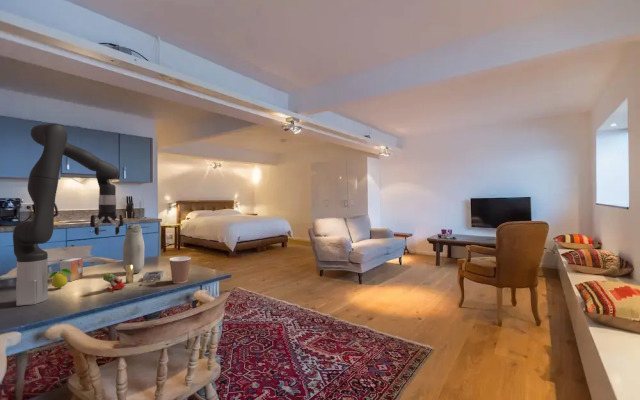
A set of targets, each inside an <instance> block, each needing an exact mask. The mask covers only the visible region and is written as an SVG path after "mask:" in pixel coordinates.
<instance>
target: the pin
mask: <svg viewBox="0 0 640 400" xmlns="http://www.w3.org/2000/svg"><path fill="white" fill-rule="evenodd" d="M133 283H134V273H133V264H129V265H126V271H125V284H126V285H127V284H128V285H129V284H133Z"/></svg>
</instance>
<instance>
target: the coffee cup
mask: <svg viewBox="0 0 640 400" xmlns="http://www.w3.org/2000/svg"><path fill="white" fill-rule="evenodd" d="M191 259H192V257H191V256H174V257H170V258H169V259H168V260H169V265H170V273H171V281H172V283H173V284H182V283H183V284H184V283H186V282H188V280H189V272H190V267H191V266H190V265H191Z"/></svg>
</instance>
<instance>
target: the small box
mask: <svg viewBox="0 0 640 400" xmlns="http://www.w3.org/2000/svg"><path fill="white" fill-rule="evenodd" d="M83 260H84V259H83V257H82V258H81V257H79V258H78V257H76V258H75V257H72V258H70V259H65V260H60V261H59V268H60V269H61V270H60V272H61V273H63V272H62V269H68V270H70V271H71V272H72V274H66V273H64V274H65V275H66V276H67V282H72V281H76V280H79V279H80V280H81V279H83V276H84V275H83V273H84V272H83V268H84V265H83V263H84V261H83Z"/></svg>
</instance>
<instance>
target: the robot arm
mask: <svg viewBox="0 0 640 400" xmlns="http://www.w3.org/2000/svg"><path fill="white" fill-rule="evenodd" d="M30 136H31V138H32V140H33V141H34V142H36V144H39V145H40V146H43V151H42V154H41V156H40V157H39V159H38V160H37V162H36V163H35V164H34V166H33V167H32V169H31V170H30V172H29V176H28V181H27V192H28V194H29V197H30V199H31V201H32V203H33V205H34V208H35V209H34V212H35V213H34V219H33V220H23V221H21V222H18V223H17V224H16V225H15V226H14V229H13V231H12V242H13V243H12V244H13V245H12V246H13V254H14V256H15V257H16V283H15V284H16V285H15V286H16V287H15V288H16V289H15V290H16V291H15V297H16V298H15V300H16V301H15V302H16V303H15V304H16V305H15V306H16V307H18V306H30V305H37V304H39V303H43V302H46V301H47V300H48V291H49V289H48V286H49V285H48V282H49V281H48V279H49V277H48V274H49V273H48V271H49V270H48V268H49V267H48V266H49V265H48V261H49V259H48V258H49V257H48V252H47V251H45V250H44V249H41V247H40V246H39V245H40V244H45V243H47V242H49V241H50V240H51V239H52V236H53V233H54V223H55V222H54V221H55V220H54V219H55V206H56V205H55V204H56V197H57V196H56V195H57V191H58V184H59V177H60V170H61V165H62V160H63V157H64V156H65V157H67V158H69V159H71V160H73V161H74V162H76V163H78V164H80V165H81V166H83V167H84V168H86V169H88V170H90V171H92V172H95V176H96V181H97V185H98V187H99V191H98V193H99V194H98V213H97V214H96V215H95V214H91V215H90V224H89V225H90V227H91V228H94V234H95V236H99V234H100V226H101V225H102V224H112V225H114V226H115V228H114V229H115V231H114V232H115V233H114V234H115V235H118V234H119V233H120V227H123V226H124V225H125V224H124V215H123V214H119V215H118V214H117V197H116V193H117V192H116V191H117V188H116V185H115V184H112V183H111V180H115V179H118V178H119V176H120V170H119V169H118V167H117V166H115V165H114V164H112V163H110V162H107V161H106V160H103V159H101V158H99V157H98V156H97V155H94V154H93V153H92V152H90V151H88V150H86V149H84V148H81V147H78V146H76V145H73V144H71V143H69V142H68V132H67V130H66V128H65V126H63V125H61V124H59V123H44V124H43V123H42V124H37V125H35V126H33V127H32V128H31V130H30ZM97 219H98V222H95V221H96V220H97ZM116 219H118V220H119V223H118V221H117V220H116Z"/></svg>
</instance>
